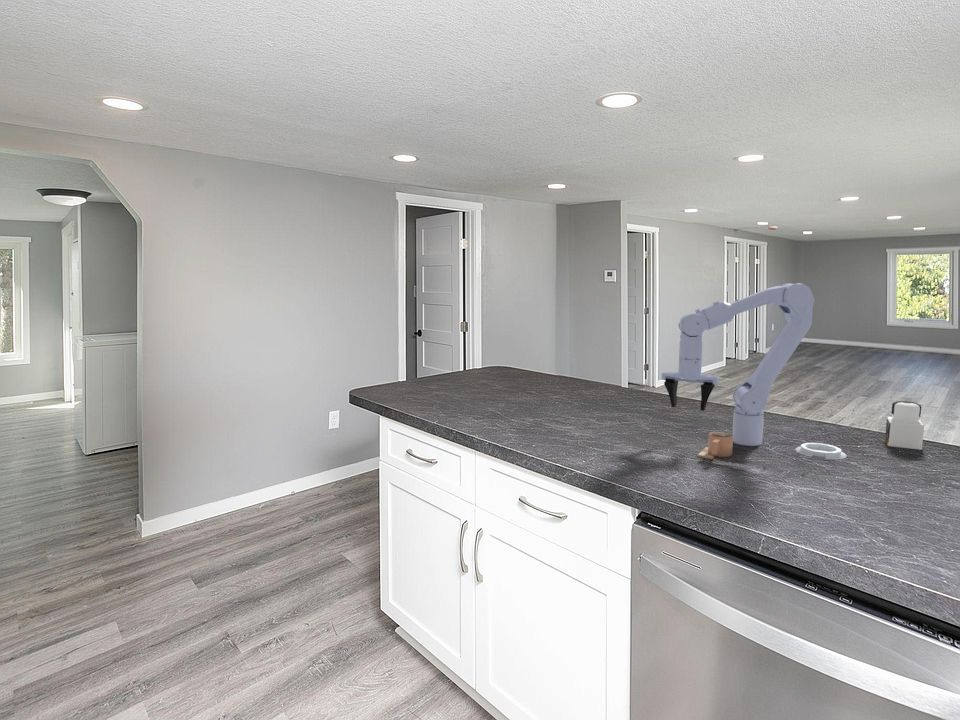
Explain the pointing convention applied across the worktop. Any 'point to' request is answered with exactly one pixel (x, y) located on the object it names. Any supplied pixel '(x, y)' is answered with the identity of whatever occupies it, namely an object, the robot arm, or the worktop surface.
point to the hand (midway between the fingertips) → (688, 408)
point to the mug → (720, 444)
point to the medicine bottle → (905, 426)
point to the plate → (820, 451)
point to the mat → (706, 454)
